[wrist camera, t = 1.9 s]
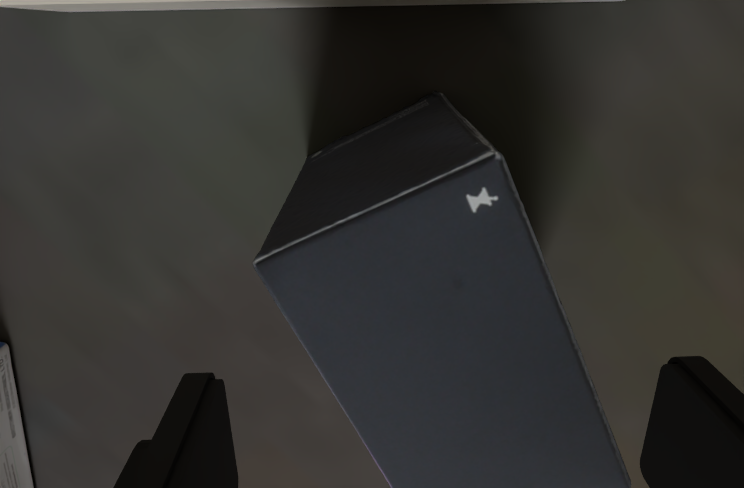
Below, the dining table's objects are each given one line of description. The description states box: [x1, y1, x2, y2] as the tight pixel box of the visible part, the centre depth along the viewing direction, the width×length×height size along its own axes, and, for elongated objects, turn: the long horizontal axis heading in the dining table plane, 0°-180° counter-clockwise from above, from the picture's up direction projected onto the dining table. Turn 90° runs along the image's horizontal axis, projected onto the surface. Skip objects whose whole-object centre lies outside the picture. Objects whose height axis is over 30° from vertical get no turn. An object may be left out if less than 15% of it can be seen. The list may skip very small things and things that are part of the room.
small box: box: [253, 91, 631, 488], centre depth 18 cm, size 11×6×10 cm, turn 26°
